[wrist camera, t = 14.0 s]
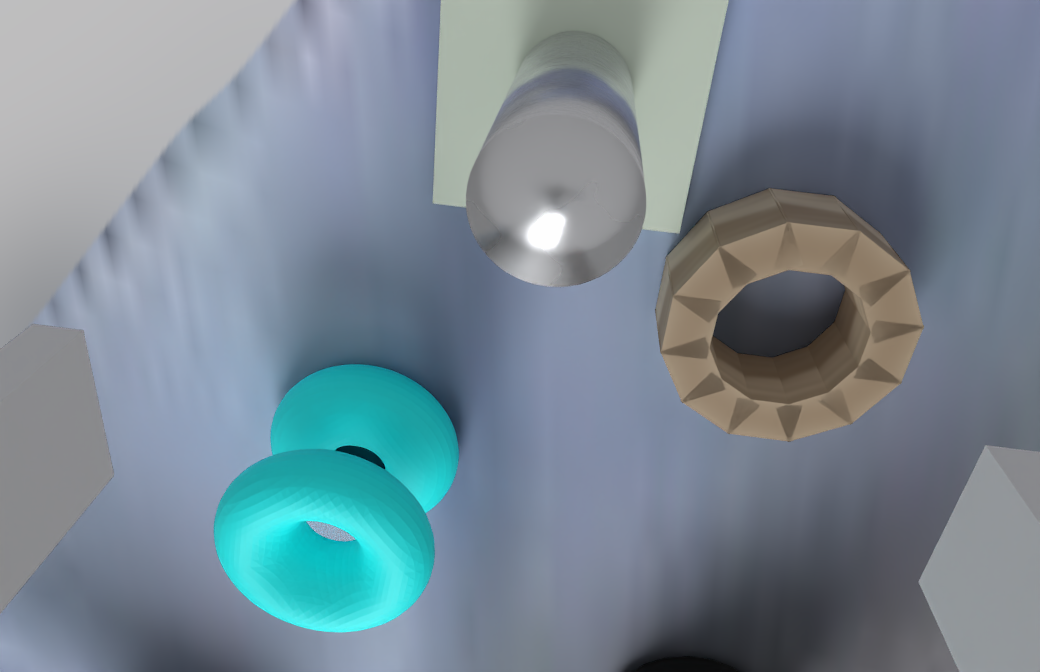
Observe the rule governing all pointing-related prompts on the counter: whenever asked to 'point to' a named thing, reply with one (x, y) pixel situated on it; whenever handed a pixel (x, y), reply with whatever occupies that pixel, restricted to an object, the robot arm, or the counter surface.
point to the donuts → (340, 501)
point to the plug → (561, 166)
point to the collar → (807, 371)
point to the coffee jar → (685, 665)
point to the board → (623, 23)
